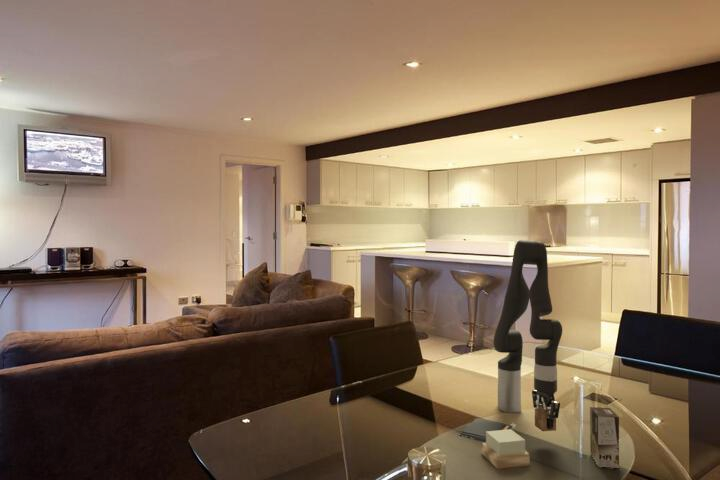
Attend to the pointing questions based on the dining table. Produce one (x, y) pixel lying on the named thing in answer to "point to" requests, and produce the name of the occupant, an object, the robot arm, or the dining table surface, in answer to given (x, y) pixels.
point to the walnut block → (543, 420)
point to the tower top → (505, 442)
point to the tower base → (505, 458)
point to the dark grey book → (483, 428)
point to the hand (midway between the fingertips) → (545, 425)
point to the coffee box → (604, 436)
